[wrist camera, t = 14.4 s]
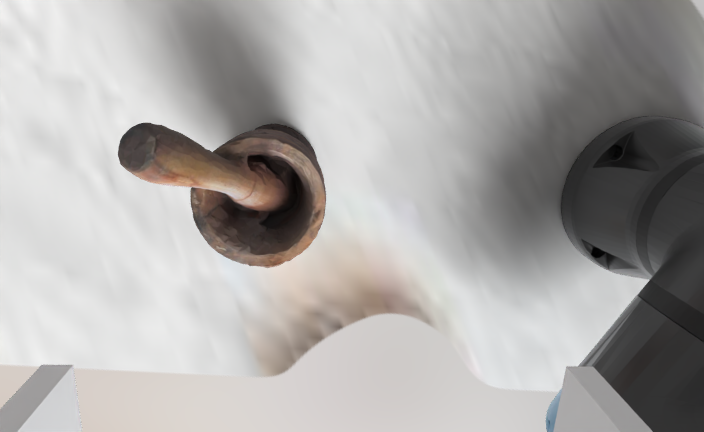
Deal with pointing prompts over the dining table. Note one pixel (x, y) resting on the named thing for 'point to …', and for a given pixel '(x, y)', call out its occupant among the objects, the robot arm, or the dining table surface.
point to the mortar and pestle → (238, 187)
